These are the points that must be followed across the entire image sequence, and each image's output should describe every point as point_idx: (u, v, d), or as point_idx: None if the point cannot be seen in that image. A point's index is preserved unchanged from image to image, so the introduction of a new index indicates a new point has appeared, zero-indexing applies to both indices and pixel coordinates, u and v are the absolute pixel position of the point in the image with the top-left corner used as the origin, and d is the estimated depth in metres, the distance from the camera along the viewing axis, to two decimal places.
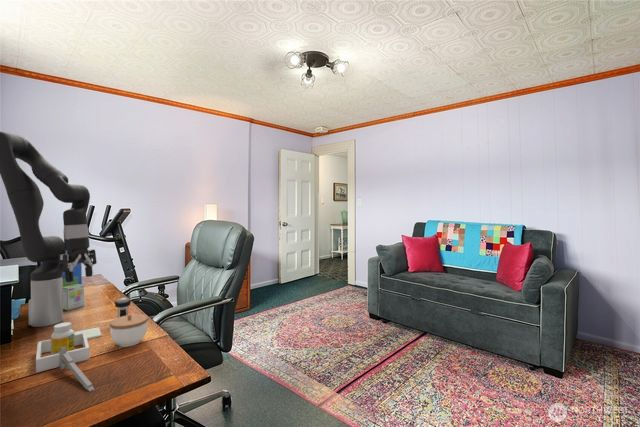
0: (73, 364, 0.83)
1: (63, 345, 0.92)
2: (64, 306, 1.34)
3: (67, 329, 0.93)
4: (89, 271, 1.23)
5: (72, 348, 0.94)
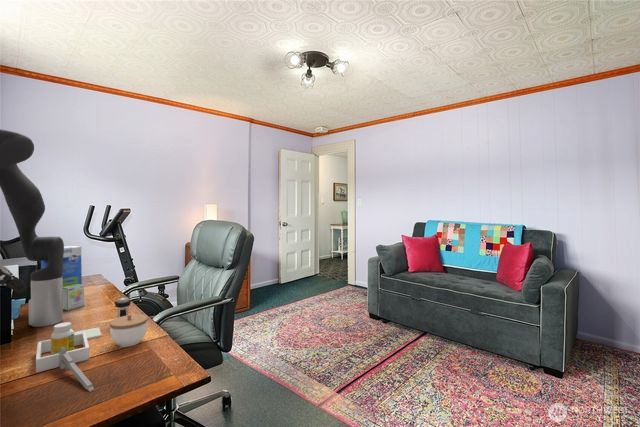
0: (73, 364, 0.83)
1: (63, 345, 0.92)
2: (64, 306, 1.34)
3: (67, 329, 0.93)
4: None
5: (72, 348, 0.94)
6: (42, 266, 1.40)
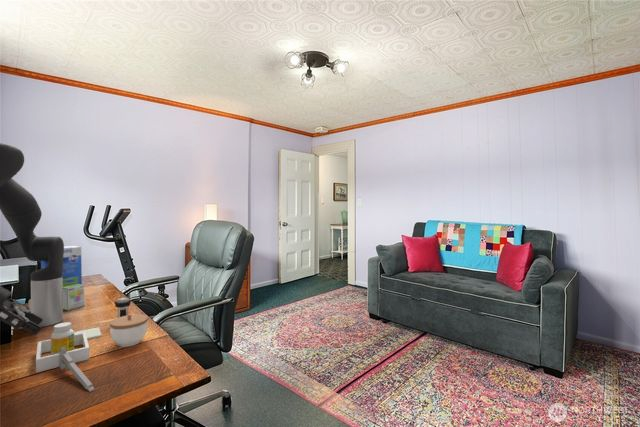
0: (73, 364, 0.83)
1: (63, 345, 0.92)
2: (64, 306, 1.34)
3: (67, 329, 0.93)
4: None
5: (72, 348, 0.94)
6: (42, 266, 1.40)
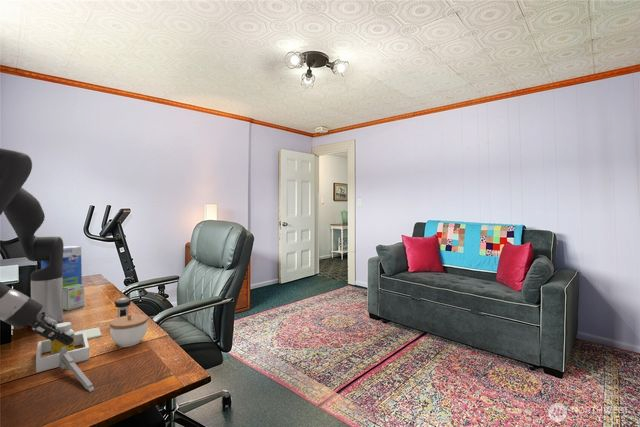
0: (73, 364, 0.83)
1: (63, 345, 0.92)
2: (64, 306, 1.34)
3: (67, 329, 0.93)
4: None
5: (72, 348, 0.94)
6: (42, 266, 1.40)
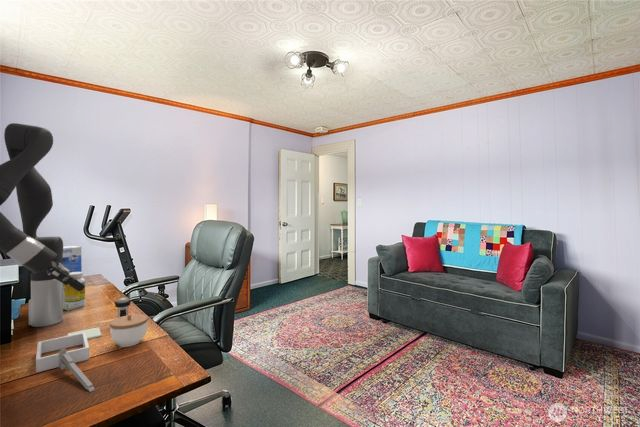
0: (73, 364, 0.83)
1: (75, 291, 1.00)
2: (64, 306, 1.34)
3: (79, 277, 1.01)
4: None
5: (83, 295, 1.02)
6: None
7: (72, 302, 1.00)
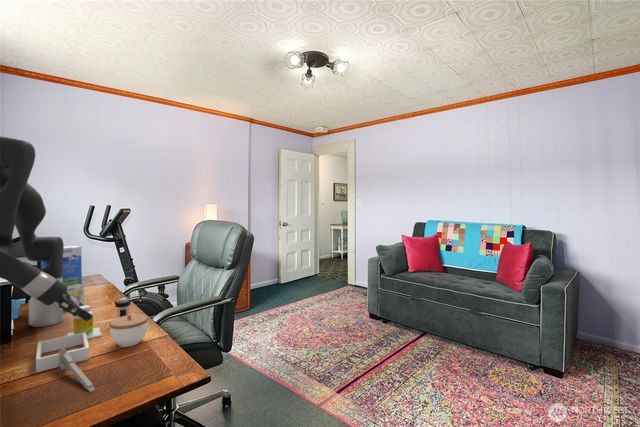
0: (73, 364, 0.82)
1: (84, 324, 1.06)
2: None
3: (87, 311, 1.07)
4: None
5: (91, 327, 1.08)
6: (42, 266, 1.40)
7: None
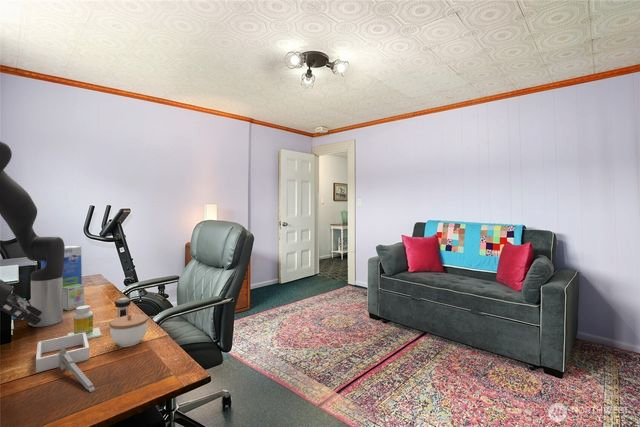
0: (73, 364, 0.82)
1: (84, 324, 1.06)
2: (64, 306, 1.34)
3: (87, 311, 1.08)
4: None
5: (91, 327, 1.09)
6: (42, 266, 1.40)
7: None
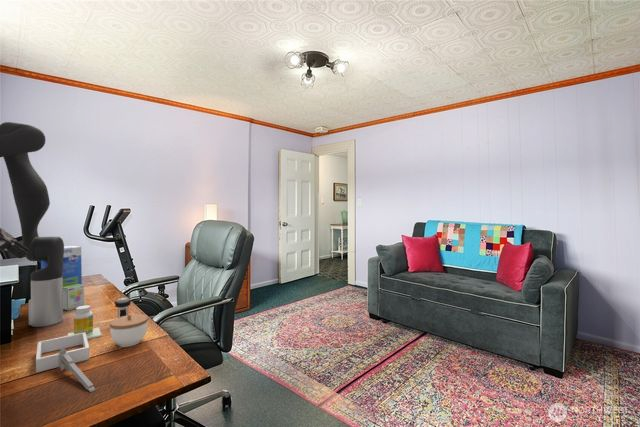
0: (73, 365, 0.82)
1: (84, 324, 1.06)
2: (64, 306, 1.34)
3: (87, 311, 1.08)
4: None
5: (91, 327, 1.09)
6: (42, 266, 1.40)
7: None
